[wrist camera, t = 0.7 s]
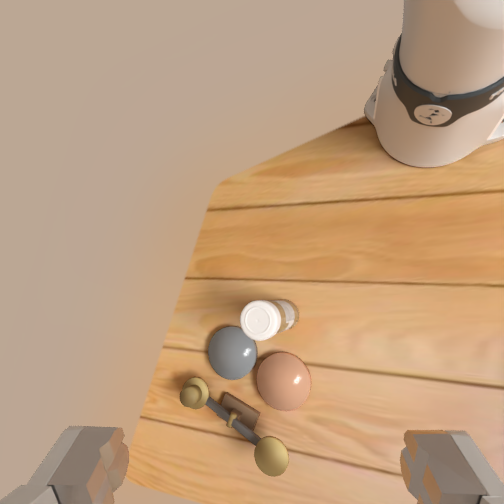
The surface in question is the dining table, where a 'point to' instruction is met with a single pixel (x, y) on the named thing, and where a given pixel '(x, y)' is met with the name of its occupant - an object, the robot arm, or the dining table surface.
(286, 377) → the peach oval pebble
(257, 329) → the spice jar
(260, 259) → the dining table surface
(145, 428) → the dining table surface
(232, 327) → the grey oval pebble
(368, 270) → the dining table surface
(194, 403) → the balance
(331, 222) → the dining table surface
